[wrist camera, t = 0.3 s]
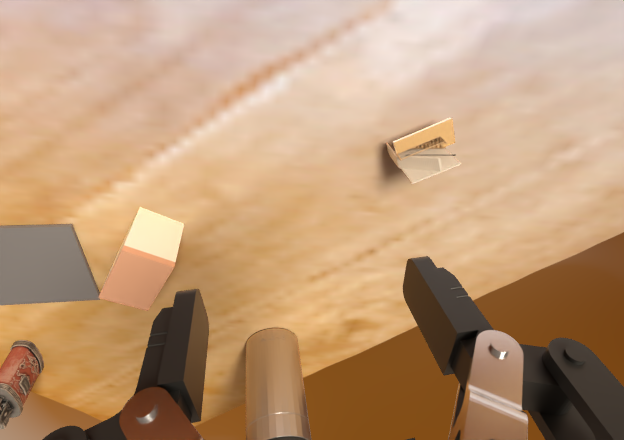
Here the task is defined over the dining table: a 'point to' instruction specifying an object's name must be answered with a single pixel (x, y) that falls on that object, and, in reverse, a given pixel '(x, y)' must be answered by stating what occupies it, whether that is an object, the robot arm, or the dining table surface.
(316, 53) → the dining table surface
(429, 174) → the architectural model
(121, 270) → the block
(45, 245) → the mat
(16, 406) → the lighter
